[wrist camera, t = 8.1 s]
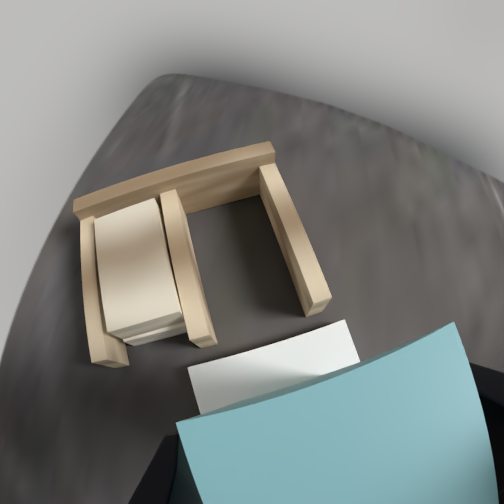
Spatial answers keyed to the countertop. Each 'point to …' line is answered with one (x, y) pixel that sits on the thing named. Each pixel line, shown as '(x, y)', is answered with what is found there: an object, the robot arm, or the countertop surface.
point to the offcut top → (136, 271)
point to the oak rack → (181, 249)
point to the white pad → (272, 367)
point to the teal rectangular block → (353, 435)
